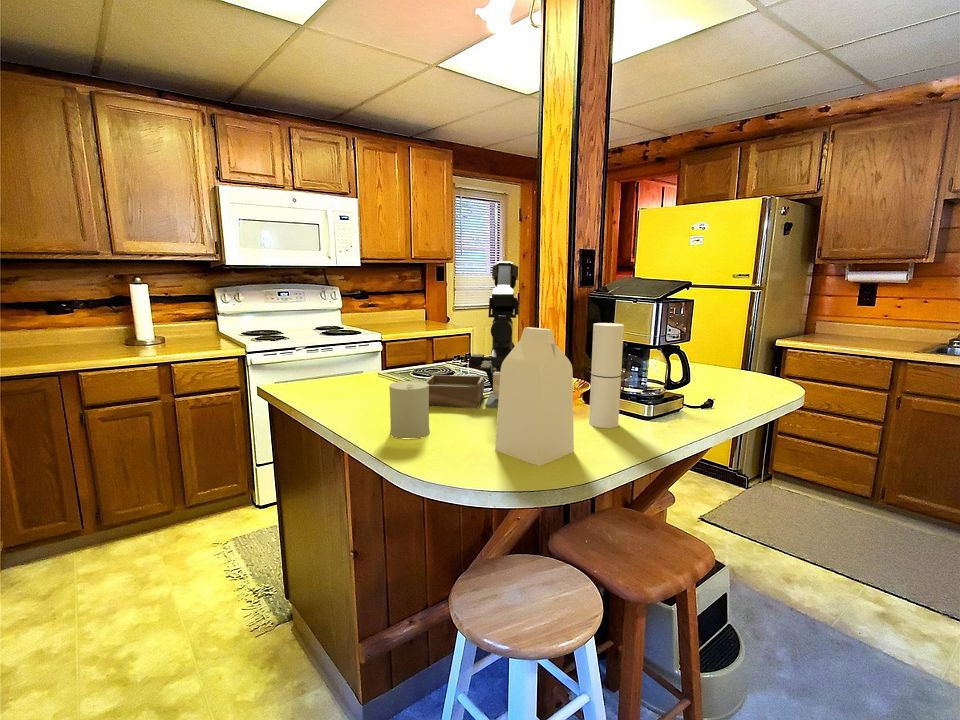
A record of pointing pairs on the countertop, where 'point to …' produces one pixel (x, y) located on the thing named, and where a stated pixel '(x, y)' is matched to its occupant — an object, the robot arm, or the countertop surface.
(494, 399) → the pad
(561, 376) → the milk
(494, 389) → the block
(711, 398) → the countertop surface
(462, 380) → the crate
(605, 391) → the cylindrical container
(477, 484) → the countertop surface
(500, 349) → the robot arm
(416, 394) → the can
